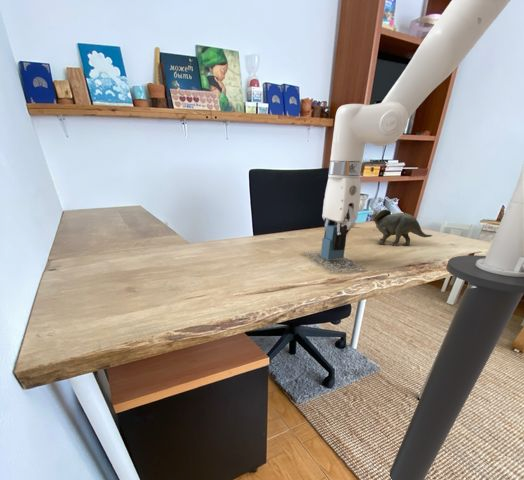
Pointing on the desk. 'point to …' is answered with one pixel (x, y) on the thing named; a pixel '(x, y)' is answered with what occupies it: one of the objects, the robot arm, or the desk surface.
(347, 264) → the rug
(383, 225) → the toy dinosaur
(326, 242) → the slate gray tower
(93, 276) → the desk surface
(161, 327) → the desk surface
